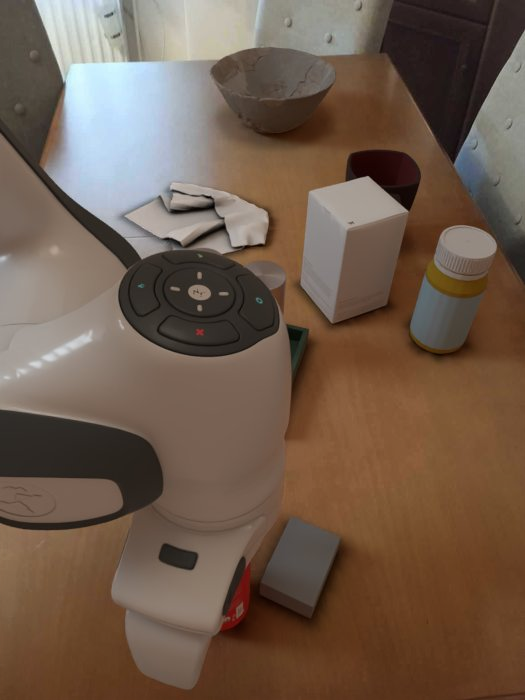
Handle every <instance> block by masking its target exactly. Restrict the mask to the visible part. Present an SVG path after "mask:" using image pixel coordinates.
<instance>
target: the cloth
mask: <svg viewBox="0 0 525 700" xmlns="http://www.w3.org/2000/svg"><path fill="white" fill-rule="evenodd" d="M172 190H173V193H172V197H170V196H167V195H163V194H159V195H158V196H157V197H156V198H155V199H154V200H152V201H151V202H149V203H147V204H145V205H143V206H141V207H139V208H137V209H134V210H132V211H130V212H128V213H127V214H125V215H124V217H125V218H127V219H128V220H130V221H131V222H132V223H134V224H136V225H137V226H139V227H141V229H142V228H143V229H144V230H145V231H147V232H149V233H150V234H152V235H154V236H155V237H157V238H159V239H160V240H161V239H166V238H169V242H170V244H171V248H172V250H184V249H188V250H192V249H196V248H210V249H214V250H216V251H218V252H220V253H221V254H222V255H225V254H230V253H234V252H238V251H242V250H243V249H244V248H246V247H245V246H257V245H262V246H264V245H265V244H266V241H267V235H268V232H269V224H270V217H269V212H268V211H267V210H265V209H264V208H261V207H258V206H256V205H255V204H254V203H251V202H250V203H249V202H248V201H246V200H244V199H242V198H241V197H239V196H238V195H236V194H232V193H230V192H228V191H225V190H218V189H214V188H211V187H208V186H200V185H197V184H193V183H182V182H174V181H173V182H171V184H170V186H169V191H172Z"/></svg>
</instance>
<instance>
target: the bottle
mask: <svg viewBox="0 0 525 700" xmlns="http://www.w3.org/2000/svg"><path fill="white" fill-rule="evenodd" d="M497 247H498V245H497V242H496V240H495V239H494V237H493V236H492V235H491V234H489V233H488V232H487V231H485V230H483V229H481V228H478V227H476V226H472V225H463V224H461V225H460V224H459V225H458V224H457V225H451V226H449V227H447V228H445V229H444V230H442V232H441V233H440V236H439V238H438V241H437V244H436V248H435V254H434V256H433V258H432V259H431V260H430V261H429V263H428V264H427V267H426V269H425V272H424V276H423V279H422V282H421V287H420V289H419V292H418V296H417V300H416V303H415V307H414V309H413V313H412V316H411V320H410V325H409V334H410V337H411V339H412V340H413V341H414V343H415V344H416V345H417V346H419V347H420V348H421V349H423V350H425V351H427V352H429V353H432V354H437V355H441V354H442V355H443V354H450V353H453V352H457V351H458V350H460V349H461V348H462V347H463V345H464V343H466V340H467V338H468V335H469V333H470V329H471V327H472V324H473V322H474V320H475V317H476V315H477V312H478V309H479V307H480V305H481V302H482V300H483V297H484V294H485V292H486V289H487V286H488V284H489V271H490V267H491V265H492V263H493V260H494V258H495V255H496V253H497V249H498V248H497Z"/></svg>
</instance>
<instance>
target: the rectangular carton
mask: <svg viewBox="0 0 525 700" xmlns="http://www.w3.org/2000/svg"><path fill="white" fill-rule="evenodd" d="M307 199H308V200H307V208H306V209H307V210H306V221H305V231H304V241H303V252H302V265H301V275H300V286H301V288H302V289H303V290H304V291H305V293H306V294H307V295H308V296H309V297H310V299H311V300H312V301H313V302H314V304H315V305H316V306H317V307H318V309H319V310H320V311H321V312H322V313H323V314H324V316H325V317H326V319H328V321H329V322H330V323H331V324H332V325H333V324H337V323H340V322H342V321H345V320H348V319H350V318H354V317H357V316H359V315H362V314H366V313H369V312H371V311H374V310H377V309H379V308H382V307H385V306H387V305H388V301H389V297H390V292H391V288H392V284H393V279H394V275H395V271H396V268H397V263H398V259H399V254H400V251H401V248H402V247H401V246H402V242H403V238H404V235H405V230H406V226H407V222H408V218H409V214H410V212H409V211H407V210H406V209H405V208H404V207H403V206H402V205H400V204H399V203H398V202H397V201H396V200H395V199H393V198H392V197H391V196H390V195H389V194H388V193H387V192H385V191H384V190H383V189H382V188H381V187H380V186H379V185H378V184H376V183H375V182H374V181H373V180H372V179H371V178H370V177H369V176H367V177H362V178H358V179H354V180H351V181H348V182H345V181H344V182H340V183H336V184H332V185H328V186H322V187H319V188H315V189H311V190H310V191H308V198H307Z"/></svg>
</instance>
